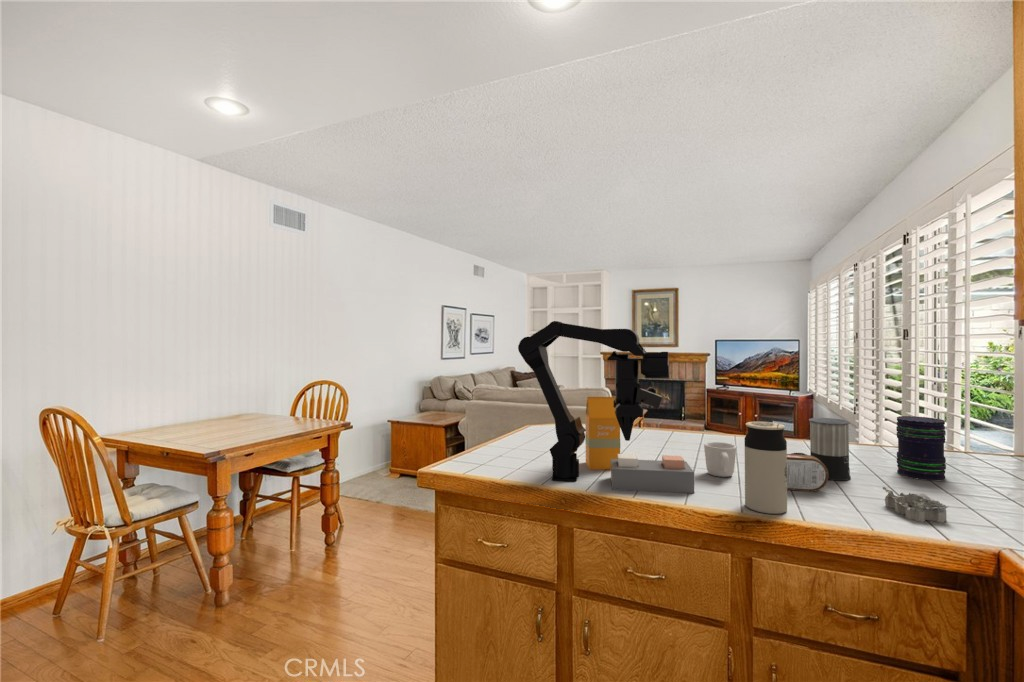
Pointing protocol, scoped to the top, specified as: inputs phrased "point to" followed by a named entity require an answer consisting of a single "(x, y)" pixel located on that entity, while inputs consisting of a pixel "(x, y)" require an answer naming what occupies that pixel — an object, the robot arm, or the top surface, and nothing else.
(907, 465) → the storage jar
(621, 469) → the key console
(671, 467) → the terracotta key
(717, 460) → the cup
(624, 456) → the cream key
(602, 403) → the orange juice
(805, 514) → the top surface
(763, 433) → the travel mug
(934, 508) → the egg carton
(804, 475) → the tin
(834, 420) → the milk frother
